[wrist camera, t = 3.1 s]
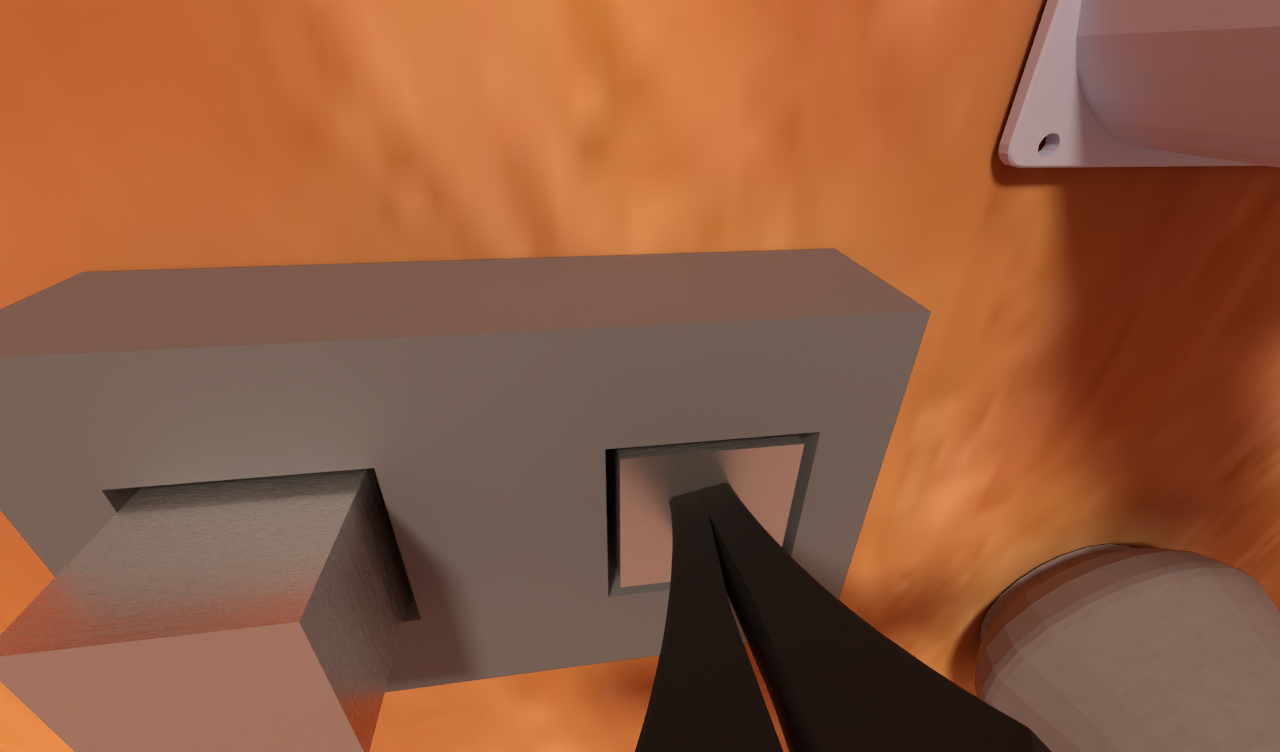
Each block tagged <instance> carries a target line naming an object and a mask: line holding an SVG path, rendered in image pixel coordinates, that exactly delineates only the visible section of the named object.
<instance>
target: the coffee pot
mask: <svg viewBox="0 0 1280 752" xmlns="http://www.w3.org/2000/svg"><path fill="white" fill-rule="evenodd" d="M980 637H981V639H982V642H981V644H980V646H979V648H978V654H977V663H976V673H975V688H976V692H977V696H978V698H979V699H981V700H982V701H984V702H986V703H987V704H989V705H991V706H992V707H994V708H996V709H998V710H999V711H1001V712H1003V713H1004V714H1006V715H1008V716H1010V717H1011V718H1013V719H1015V720H1017V721H1018V722H1020V723H1022V724H1024V725H1025V726H1027V727H1028V728H1030V729H1031V730H1032V731H1033V732H1034V733H1035V734H1036V735H1037V737H1038V738H1039V739H1040V740H1041V741H1042V742H1043V743H1044V744H1045V745H1046V746H1047V747H1048V748H1049V749H1050V750H1051V751H1052V752H1280V612H1279V610H1278V609H1277V607H1276V606H1275V604H1274V603H1273V601H1272V600H1271V598H1270V597H1269V595H1268V594H1267V592H1266V591H1265V589H1264V588H1263V587H1262V585H1261V584H1260V583H1259V582H1258V581H1257V580H1256V579H1255V578H1254V577H1253V576H1251V575H1249V574H1247V573H1245V572H1243V571H1241V570H1239V569H1237V568H1234V567H1232V566H1230V565H1228V564H1225V563H1223V562H1220V561H1217V560H1214V559H1211V558H1208V557H1206V556H1203V555H1200V554H1197V553H1194V552H1187V551H1178V550H1169V549H1156V548H1136V549H1134V548H1132V547H1129V546H1127V545H1115V544H1105V545H1099V546H1092V547H1086V548H1083V549H1080V550H1077V551H1074V552H1071V553H1068V554H1064V555H1062V556H1060V557H1058V558H1056V559H1053V560H1051V561H1049V562H1047V563H1045V564H1043V565H1041V566H1039V567H1037V568H1036V569H1034V570H1033V571H1031V572H1030V573H1028V574H1027V575H1025V576H1024V577H1022V578H1020V579H1019V580H1018V581H1016V582H1015V583H1014V584H1013V585H1012V586H1011V587H1009V588H1008V589H1007V590H1006V591H1005V592H1004V593H1002V594H1001V595H1000V596H999V598H998V599H997V600H996V601H995V603H994V604H993V605H992V606H991V607H990V609H989V610H988V612H987V614H986V616H985V618H984V620H983V622H982V624H981V634H980Z"/></svg>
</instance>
